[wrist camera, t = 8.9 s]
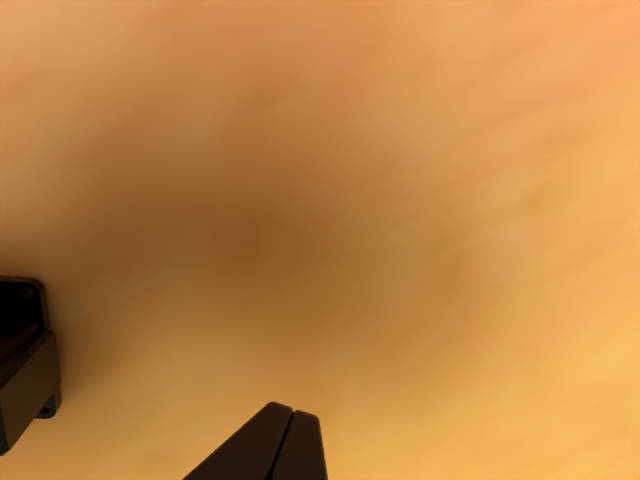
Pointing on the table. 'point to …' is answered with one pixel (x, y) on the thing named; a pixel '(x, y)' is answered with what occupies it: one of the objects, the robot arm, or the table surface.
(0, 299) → the robot arm
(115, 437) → the table surface
